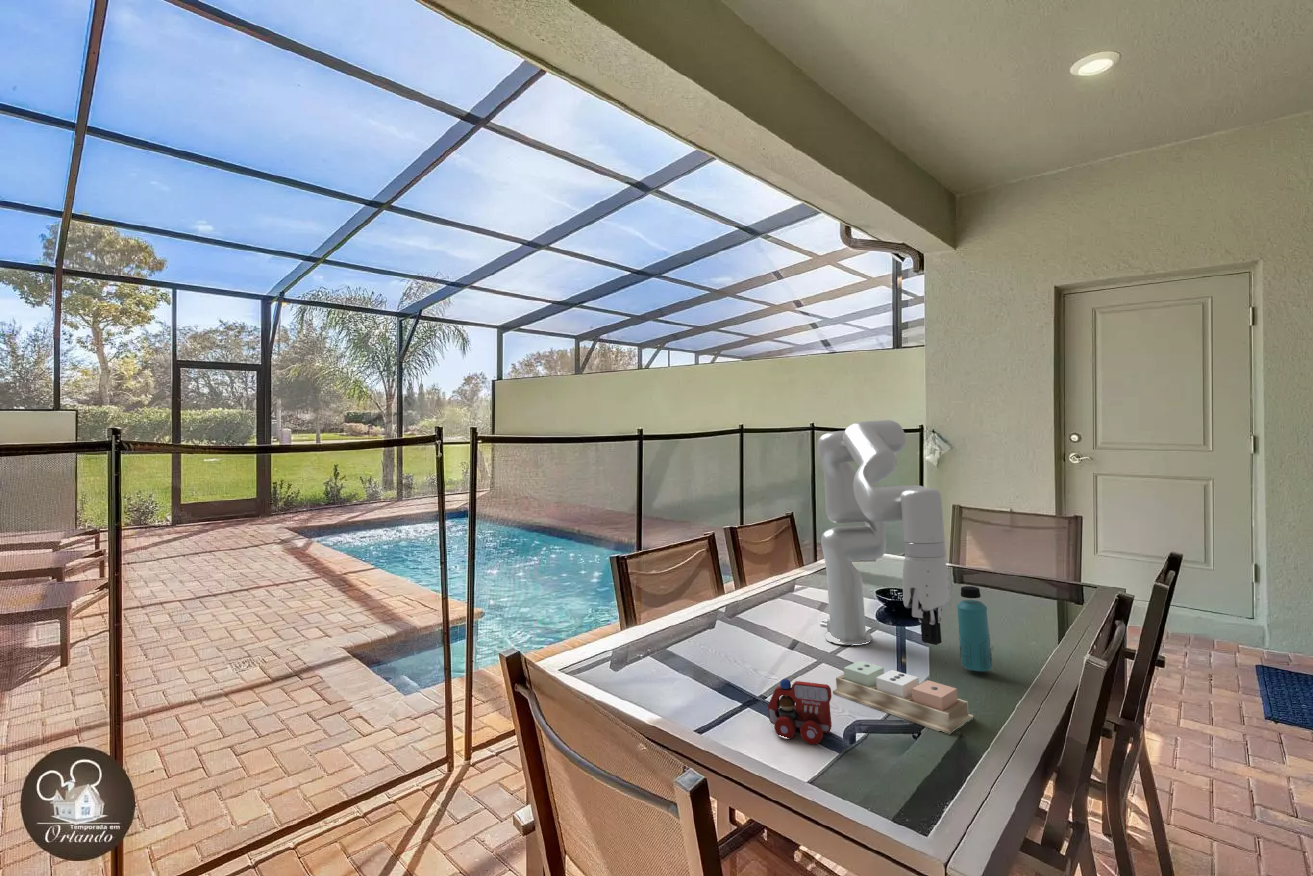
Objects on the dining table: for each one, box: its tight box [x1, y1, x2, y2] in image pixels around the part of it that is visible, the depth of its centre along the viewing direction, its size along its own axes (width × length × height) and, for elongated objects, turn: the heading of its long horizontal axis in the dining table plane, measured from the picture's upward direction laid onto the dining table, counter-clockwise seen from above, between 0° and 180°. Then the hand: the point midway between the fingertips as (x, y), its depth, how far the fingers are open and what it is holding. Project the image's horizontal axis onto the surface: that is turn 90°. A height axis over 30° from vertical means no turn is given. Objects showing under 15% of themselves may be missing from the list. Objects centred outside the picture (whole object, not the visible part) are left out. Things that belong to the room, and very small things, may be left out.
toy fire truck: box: [767, 678, 833, 746], centre depth 113 cm, size 7×12×10 cm, turn 60°
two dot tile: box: [843, 660, 885, 687], centre depth 129 cm, size 6×6×4 cm
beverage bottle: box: [956, 585, 993, 672], centre depth 137 cm, size 6×7×20 cm
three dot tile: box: [876, 669, 920, 699], centre depth 122 cm, size 6×6×4 cm
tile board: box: [832, 674, 975, 733], centre depth 122 cm, size 26×10×3 cm, turn 37°
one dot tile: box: [912, 679, 959, 712], centre depth 116 cm, size 6×6×4 cm
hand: (931, 642), depth 116 cm, fingers closed
